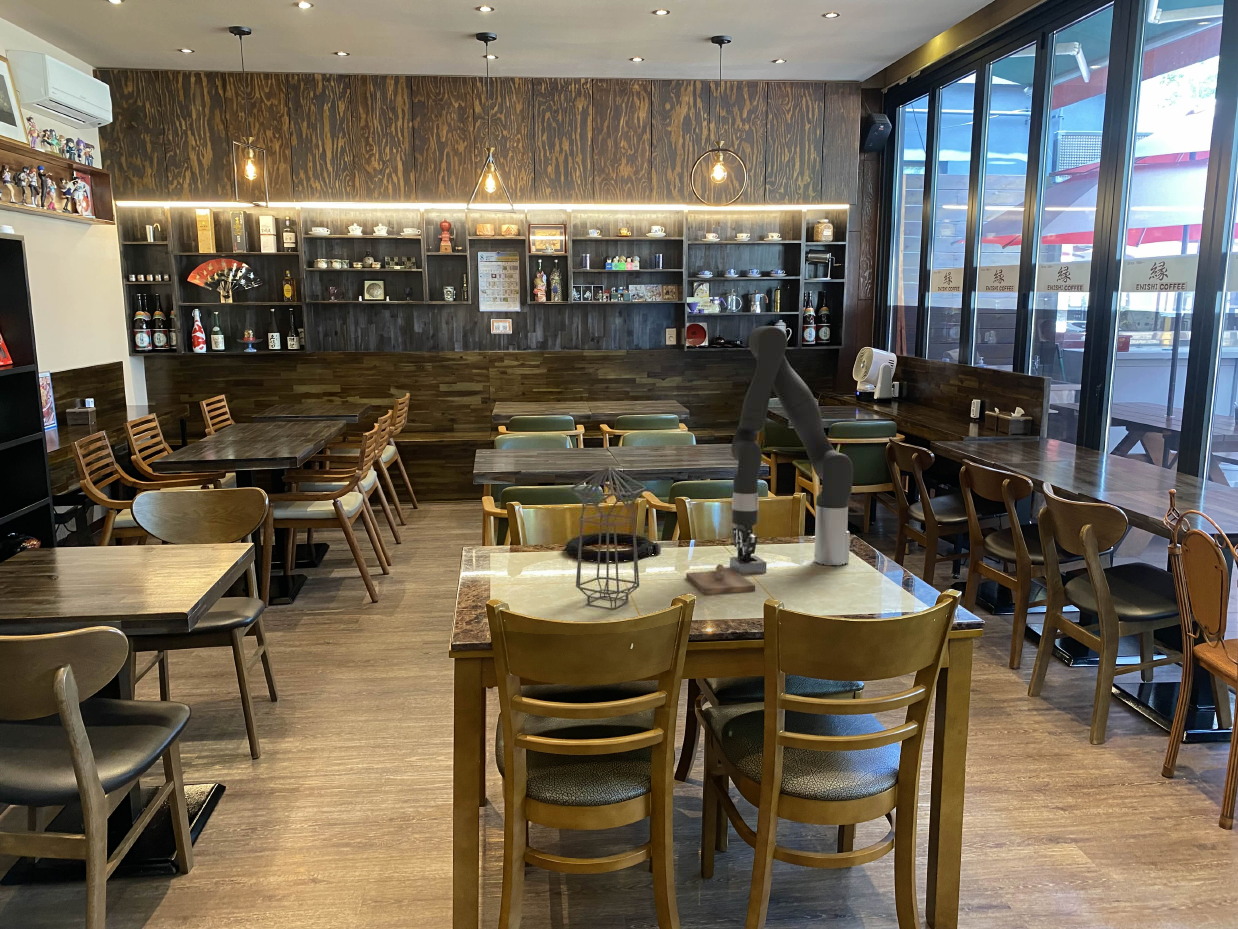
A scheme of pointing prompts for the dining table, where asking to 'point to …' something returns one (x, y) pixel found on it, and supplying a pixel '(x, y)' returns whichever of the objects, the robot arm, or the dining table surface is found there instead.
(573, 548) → the black studded ring
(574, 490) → the geometric lantern
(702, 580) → the keeper block
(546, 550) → the dining table surface
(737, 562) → the grey square frame
